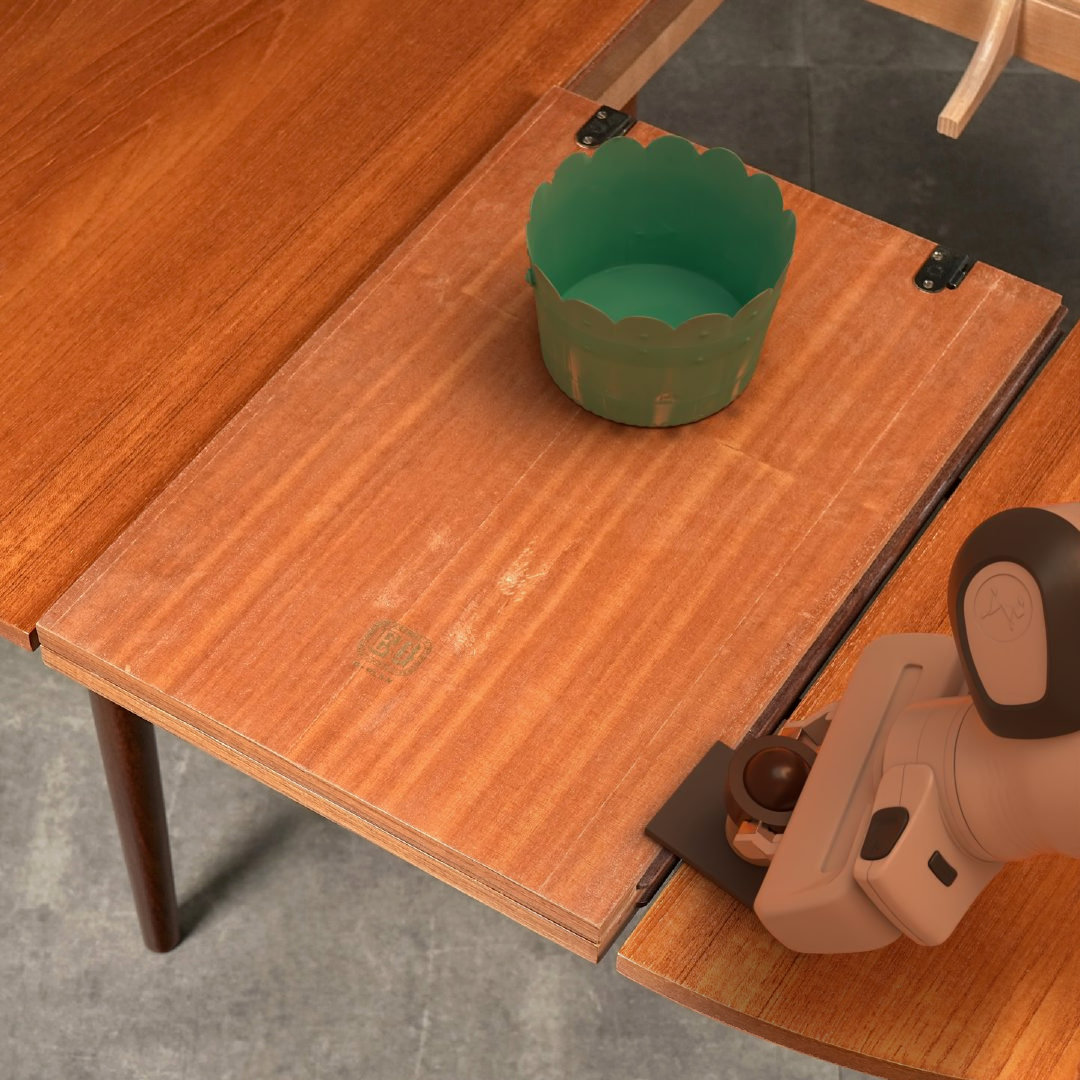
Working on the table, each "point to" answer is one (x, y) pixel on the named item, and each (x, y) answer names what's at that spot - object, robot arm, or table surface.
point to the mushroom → (765, 784)
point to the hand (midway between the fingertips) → (764, 790)
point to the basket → (656, 277)
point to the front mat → (706, 828)
